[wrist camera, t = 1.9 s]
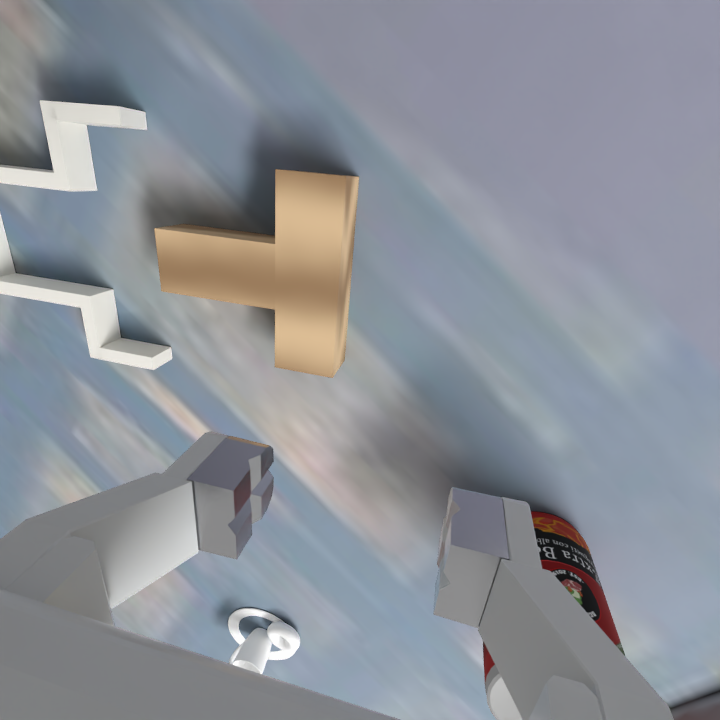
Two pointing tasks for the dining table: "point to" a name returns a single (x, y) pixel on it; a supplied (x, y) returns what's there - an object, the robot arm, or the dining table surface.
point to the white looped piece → (261, 641)
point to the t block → (279, 267)
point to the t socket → (77, 175)
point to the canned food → (577, 574)
